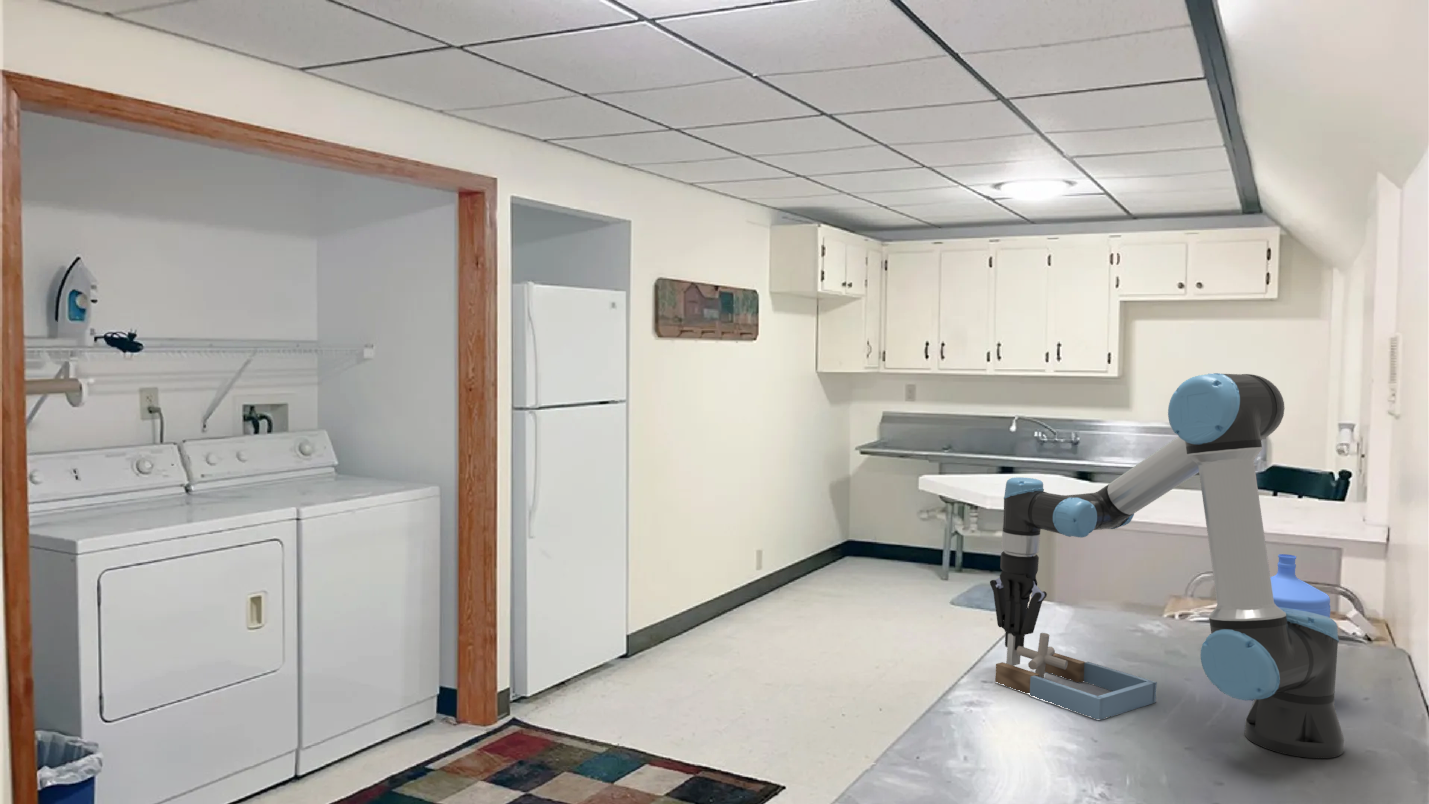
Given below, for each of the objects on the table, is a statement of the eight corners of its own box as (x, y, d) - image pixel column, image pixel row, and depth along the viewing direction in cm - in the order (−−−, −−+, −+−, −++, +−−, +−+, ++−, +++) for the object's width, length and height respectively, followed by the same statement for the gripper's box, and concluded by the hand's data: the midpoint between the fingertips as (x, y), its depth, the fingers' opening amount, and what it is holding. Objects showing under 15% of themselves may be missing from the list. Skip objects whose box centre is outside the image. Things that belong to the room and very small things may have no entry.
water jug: (1338, 712, 197) (1346, 566, 196) (1249, 704, 201) (1256, 561, 199) (1308, 686, 213) (1316, 550, 211) (1226, 679, 216) (1232, 546, 214)
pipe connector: (1054, 696, 205) (1060, 649, 203) (1005, 680, 211) (1011, 634, 209) (1071, 681, 213) (1077, 635, 211) (1024, 665, 219) (1030, 621, 217)
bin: (1155, 702, 200) (1156, 682, 200) (1098, 720, 190) (1099, 699, 190) (1087, 680, 213) (1088, 661, 213) (1029, 696, 202) (1030, 676, 202)
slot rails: (1085, 681, 212) (1085, 662, 212) (1031, 696, 203) (1032, 675, 202) (1048, 669, 220) (1048, 651, 220) (995, 683, 210) (995, 663, 210)
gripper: (1057, 557, 212) (1050, 670, 214) (1006, 544, 222) (1000, 652, 224) (1034, 560, 208) (1026, 676, 209) (983, 548, 218) (976, 658, 220)
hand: (1013, 664), depth 217 cm, fingers closed
